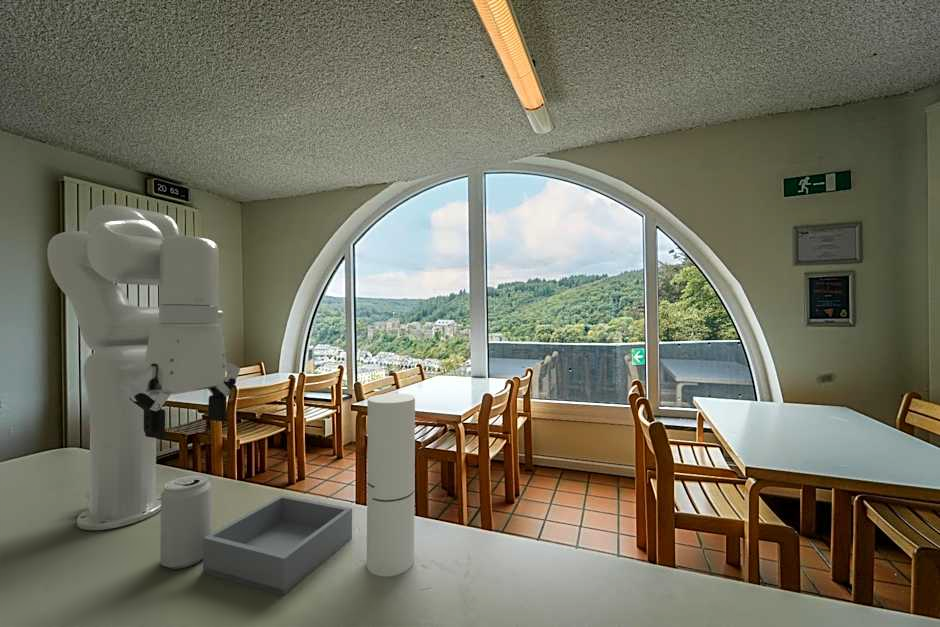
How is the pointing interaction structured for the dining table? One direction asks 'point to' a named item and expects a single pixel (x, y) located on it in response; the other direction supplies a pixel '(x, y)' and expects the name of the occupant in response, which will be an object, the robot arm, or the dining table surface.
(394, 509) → the cylindrical container
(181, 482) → the beverage can
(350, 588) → the dining table surface
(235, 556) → the box
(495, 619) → the dining table surface
